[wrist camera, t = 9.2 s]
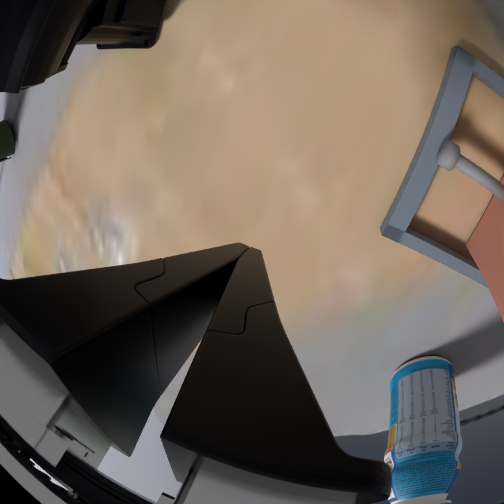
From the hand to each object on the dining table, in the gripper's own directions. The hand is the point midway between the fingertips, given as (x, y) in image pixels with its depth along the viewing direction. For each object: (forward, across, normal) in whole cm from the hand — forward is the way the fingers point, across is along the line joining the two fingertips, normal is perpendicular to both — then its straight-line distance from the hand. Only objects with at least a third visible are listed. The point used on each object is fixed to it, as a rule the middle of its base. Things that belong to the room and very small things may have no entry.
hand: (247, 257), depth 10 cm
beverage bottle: (+12, +22, -17) cm, 30 cm away
